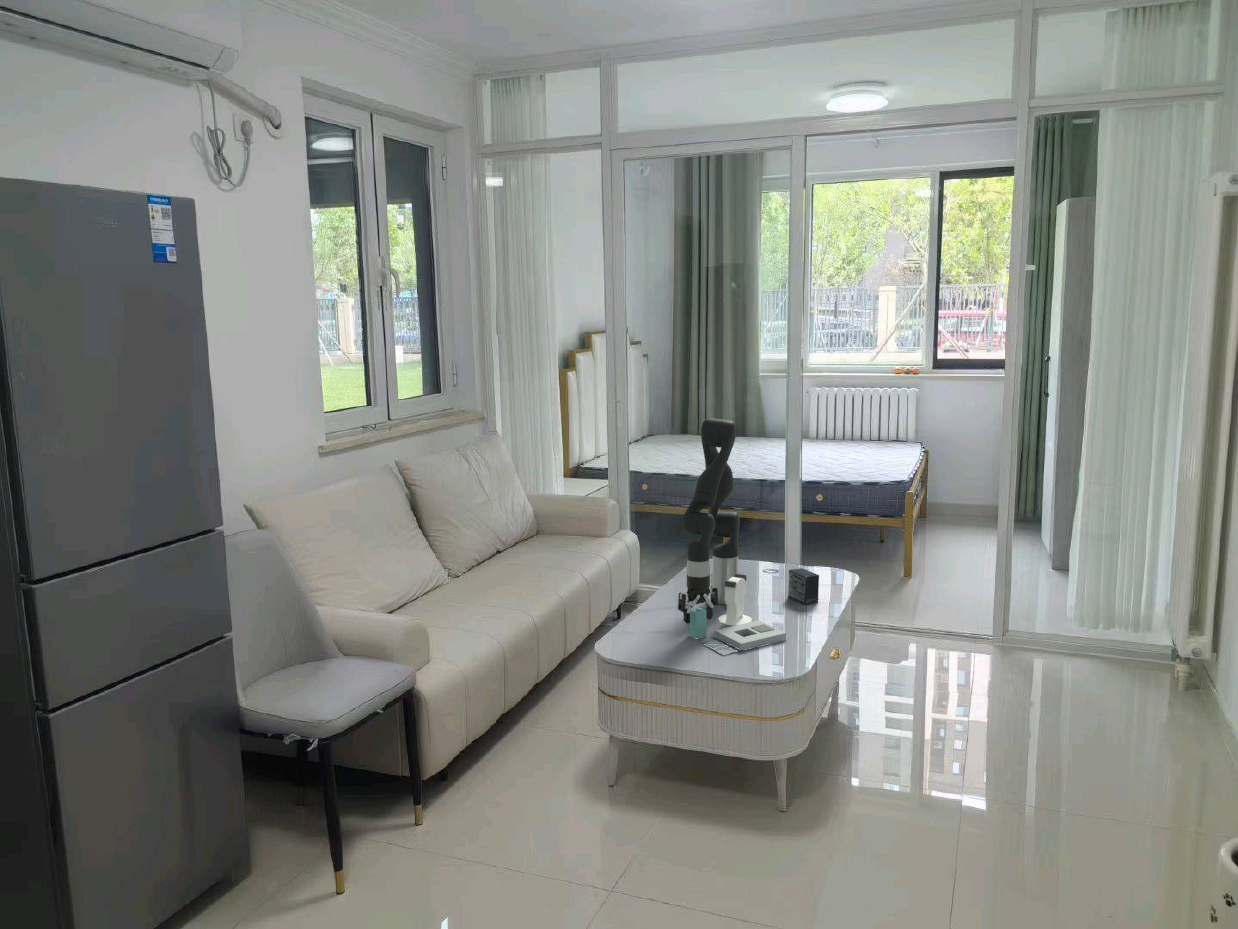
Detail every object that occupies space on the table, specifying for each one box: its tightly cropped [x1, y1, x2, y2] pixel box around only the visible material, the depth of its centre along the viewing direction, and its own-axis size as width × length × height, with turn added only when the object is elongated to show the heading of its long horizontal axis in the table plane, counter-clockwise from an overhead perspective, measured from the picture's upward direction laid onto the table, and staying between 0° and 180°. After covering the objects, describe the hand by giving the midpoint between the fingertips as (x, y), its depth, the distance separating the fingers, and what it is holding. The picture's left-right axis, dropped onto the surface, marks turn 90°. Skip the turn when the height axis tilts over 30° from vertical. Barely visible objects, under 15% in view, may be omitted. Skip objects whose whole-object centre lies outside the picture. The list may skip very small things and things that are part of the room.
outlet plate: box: [714, 620, 787, 651], centre depth 301 cm, size 14×18×3 cm
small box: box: [787, 567, 820, 606], centre depth 339 cm, size 11×6×10 cm, turn 25°
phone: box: [700, 638, 736, 650], centre depth 294 cm, size 6×12×1 cm, turn 30°
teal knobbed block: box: [688, 607, 707, 639], centre depth 304 cm, size 4×4×10 cm
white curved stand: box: [718, 573, 753, 627], centre depth 318 cm, size 12×11×15 cm
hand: (698, 621), depth 303 cm, fingers open, 8 cm apart
